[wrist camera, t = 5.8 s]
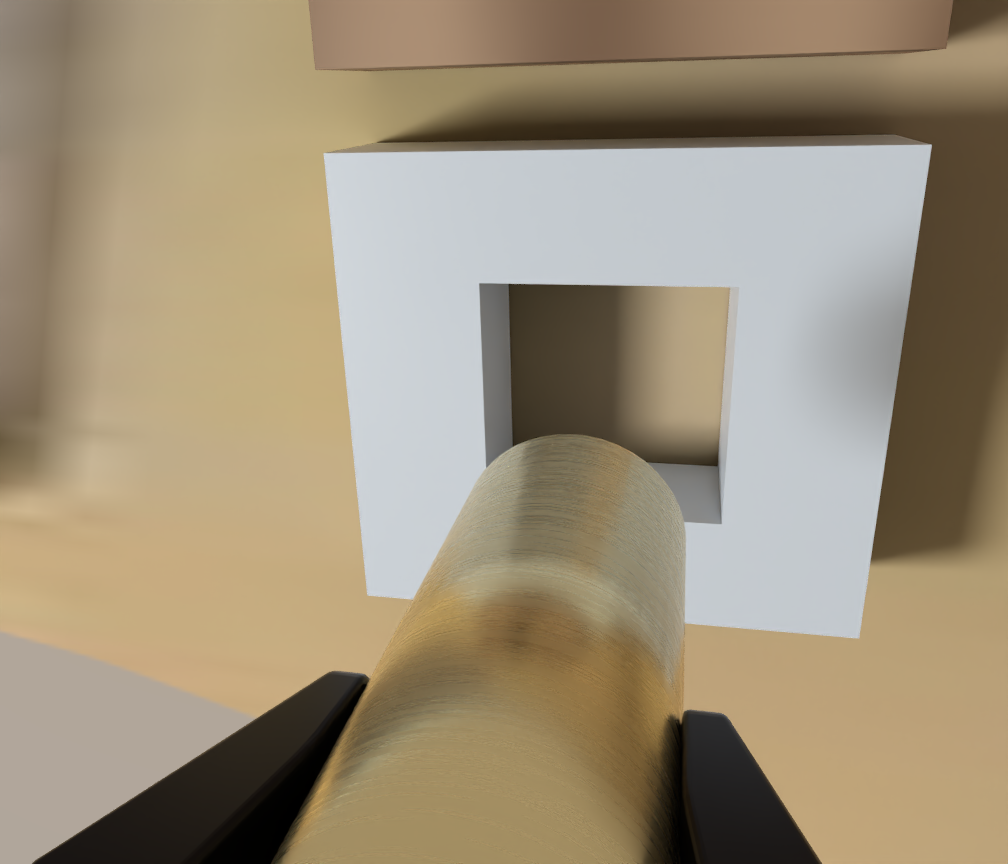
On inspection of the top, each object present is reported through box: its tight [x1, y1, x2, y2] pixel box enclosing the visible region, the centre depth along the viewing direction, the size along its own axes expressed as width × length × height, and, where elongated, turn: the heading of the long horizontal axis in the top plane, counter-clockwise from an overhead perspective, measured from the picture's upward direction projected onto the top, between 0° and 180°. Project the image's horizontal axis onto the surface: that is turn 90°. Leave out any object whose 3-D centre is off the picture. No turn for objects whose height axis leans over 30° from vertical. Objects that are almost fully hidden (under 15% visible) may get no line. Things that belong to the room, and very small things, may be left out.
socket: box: [324, 134, 932, 638], centre depth 19 cm, size 11×10×3 cm
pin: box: [271, 434, 686, 864], centre depth 8 cm, size 3×3×9 cm
